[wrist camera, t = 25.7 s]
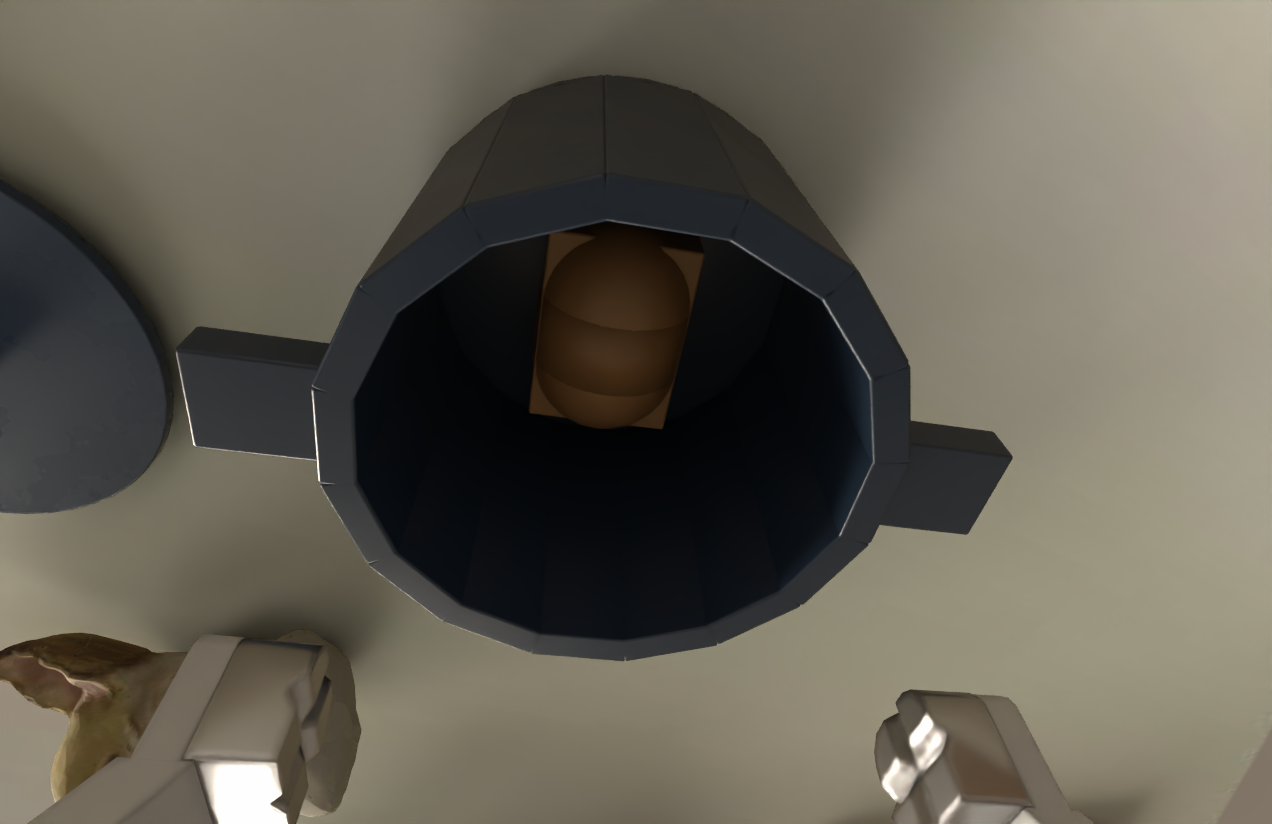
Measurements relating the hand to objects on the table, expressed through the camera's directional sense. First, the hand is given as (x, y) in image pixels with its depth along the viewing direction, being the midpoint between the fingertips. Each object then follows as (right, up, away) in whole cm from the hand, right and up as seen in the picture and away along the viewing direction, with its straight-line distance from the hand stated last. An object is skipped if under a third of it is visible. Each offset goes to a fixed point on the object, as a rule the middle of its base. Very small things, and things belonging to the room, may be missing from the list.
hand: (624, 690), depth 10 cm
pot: (-1, +8, +12) cm, 15 cm away
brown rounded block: (-1, +8, +12) cm, 14 cm away
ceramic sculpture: (-18, -7, +22) cm, 30 cm away
